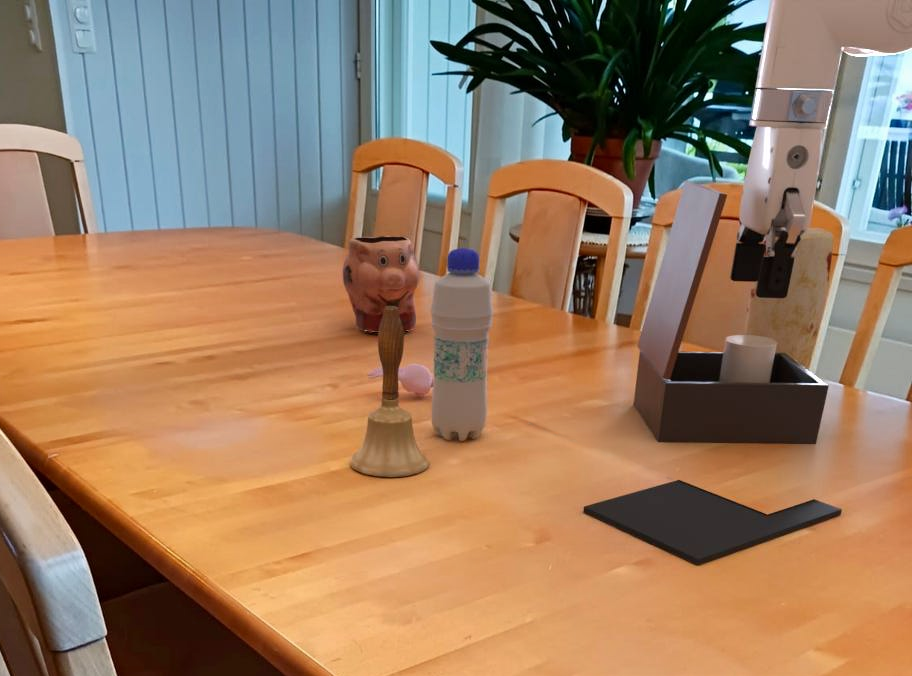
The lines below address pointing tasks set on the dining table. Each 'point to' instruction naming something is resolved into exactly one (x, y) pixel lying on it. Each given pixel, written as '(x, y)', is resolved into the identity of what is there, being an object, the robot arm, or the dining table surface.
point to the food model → (795, 300)
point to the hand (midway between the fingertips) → (756, 288)
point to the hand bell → (390, 414)
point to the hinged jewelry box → (729, 402)
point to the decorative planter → (381, 279)
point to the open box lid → (680, 275)
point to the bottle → (460, 347)
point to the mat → (702, 520)
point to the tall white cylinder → (747, 359)
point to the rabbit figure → (410, 378)
